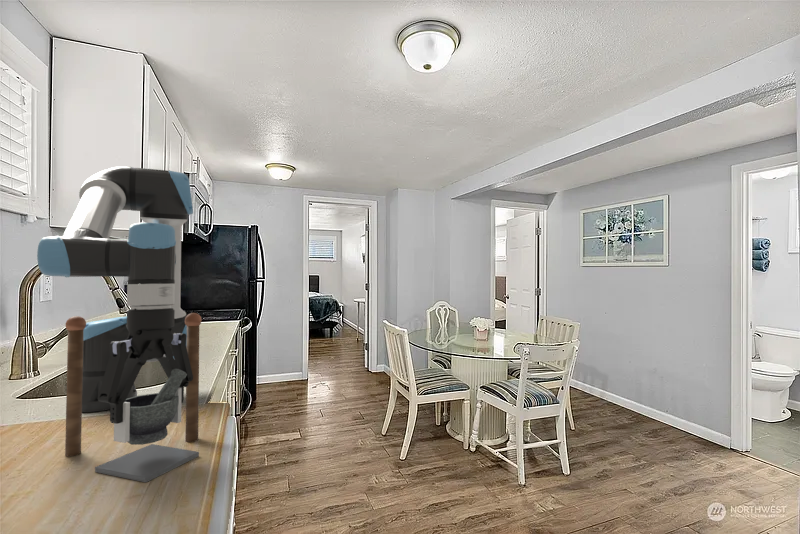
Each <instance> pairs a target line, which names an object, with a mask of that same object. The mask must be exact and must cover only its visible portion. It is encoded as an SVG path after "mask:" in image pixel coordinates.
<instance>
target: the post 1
mask: <svg viewBox="0 0 800 534" xmlns="http://www.w3.org/2000/svg"><path fill="white" fill-rule="evenodd" d="M86 323H87V320H86V319H85V318H84V317H82V316H80V315H74V316H71V317H69V318H68V319H67V320H66V322H65V328H66V330H67V352H66V353H67V358H66V359H67V360H66V366H67V367H66V399H65V400H66V401H65V403H66V405H65V409H66V410H65V440H64V441H65V444H64V446H65V450H64V457H75V456H79V455H80V454H81V453H82V425H83V424H82V423H83V422H82V421H83V420H82V419H83V418H82V416H83V415H82V414H83V412H82V380H83V332H84V328H85V327H86Z"/></svg>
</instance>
